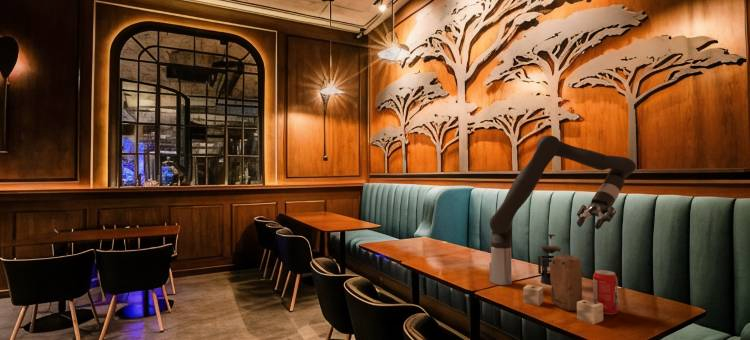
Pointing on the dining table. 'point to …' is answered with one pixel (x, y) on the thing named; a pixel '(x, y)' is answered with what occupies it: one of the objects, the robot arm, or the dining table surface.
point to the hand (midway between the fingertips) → (587, 226)
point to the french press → (546, 249)
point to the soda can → (606, 290)
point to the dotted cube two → (590, 311)
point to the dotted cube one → (533, 295)
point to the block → (566, 281)
